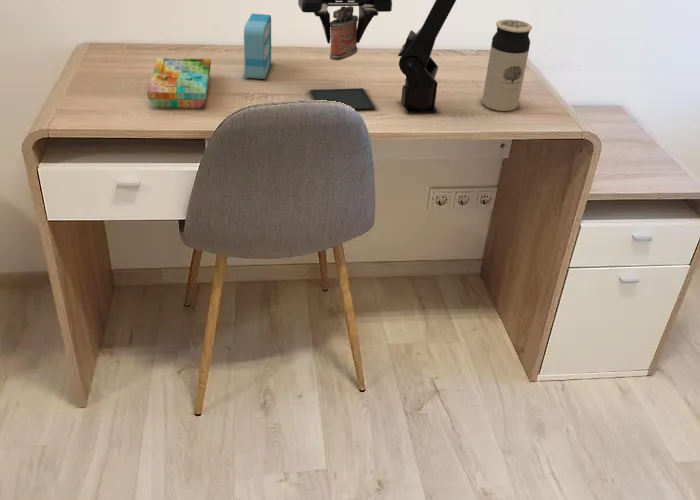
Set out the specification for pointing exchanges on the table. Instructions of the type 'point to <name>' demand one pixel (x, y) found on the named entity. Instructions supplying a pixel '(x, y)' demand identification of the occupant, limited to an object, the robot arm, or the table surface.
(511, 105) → the travel mug
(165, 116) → the table surface
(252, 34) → the data package
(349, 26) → the lighter
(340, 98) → the desk mat
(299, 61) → the table surface
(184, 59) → the puzzle game
